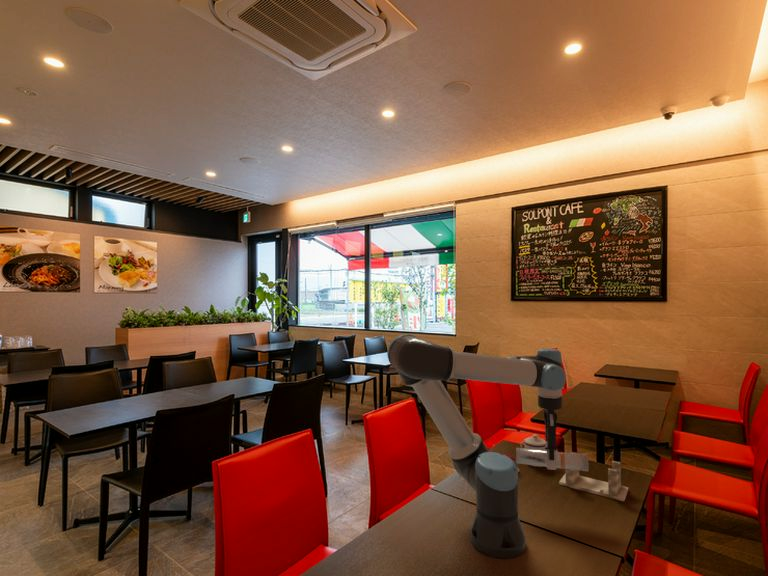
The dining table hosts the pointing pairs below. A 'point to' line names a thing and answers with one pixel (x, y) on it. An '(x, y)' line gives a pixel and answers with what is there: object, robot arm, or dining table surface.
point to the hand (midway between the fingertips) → (550, 465)
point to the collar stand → (597, 483)
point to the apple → (512, 459)
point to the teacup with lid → (534, 444)
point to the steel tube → (562, 459)
